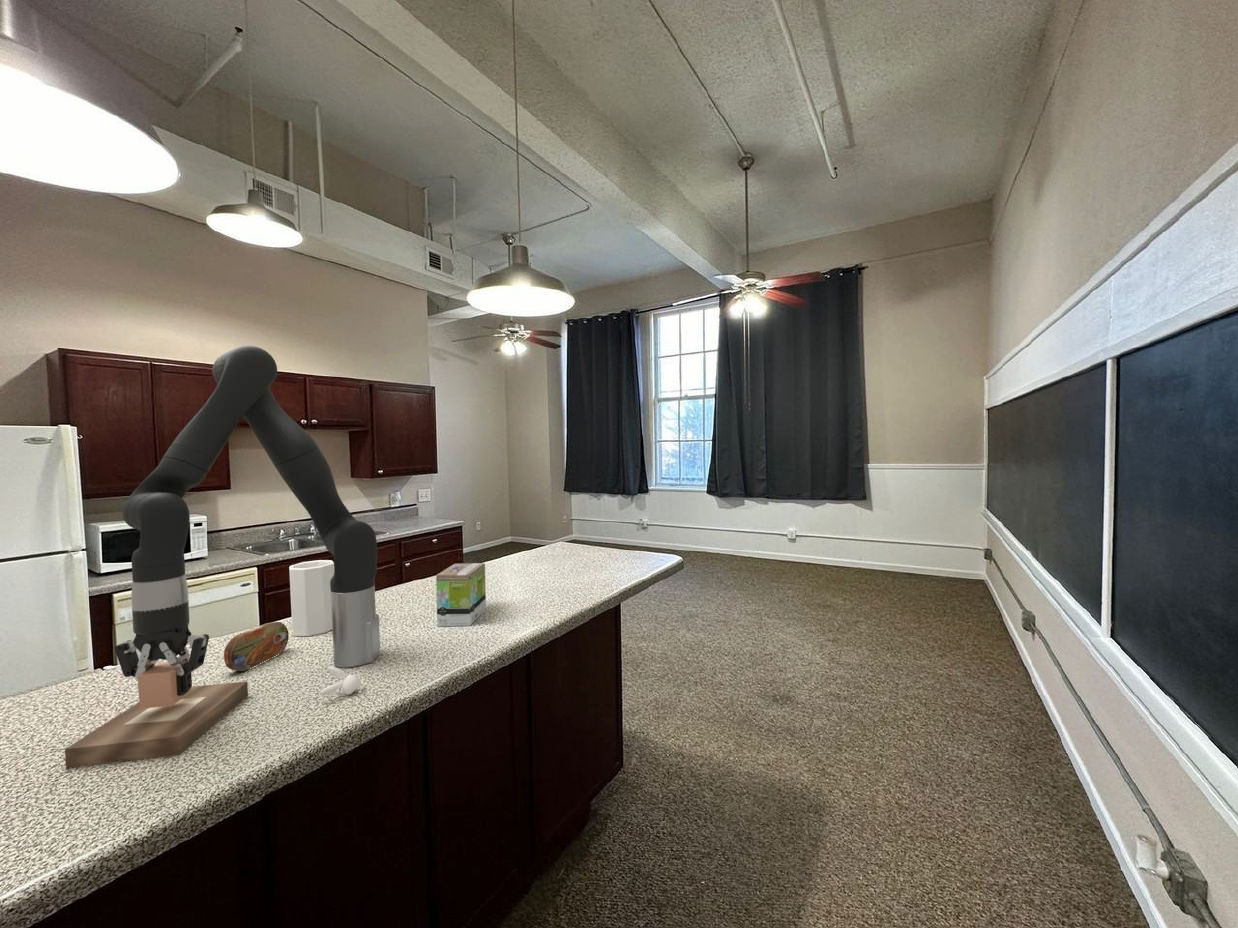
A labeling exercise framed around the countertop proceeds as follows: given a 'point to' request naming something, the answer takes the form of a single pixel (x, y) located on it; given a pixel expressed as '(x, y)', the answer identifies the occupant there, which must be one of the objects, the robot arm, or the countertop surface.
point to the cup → (311, 597)
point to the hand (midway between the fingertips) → (165, 694)
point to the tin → (256, 646)
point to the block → (158, 687)
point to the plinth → (157, 727)
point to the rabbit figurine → (343, 682)
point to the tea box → (460, 594)
